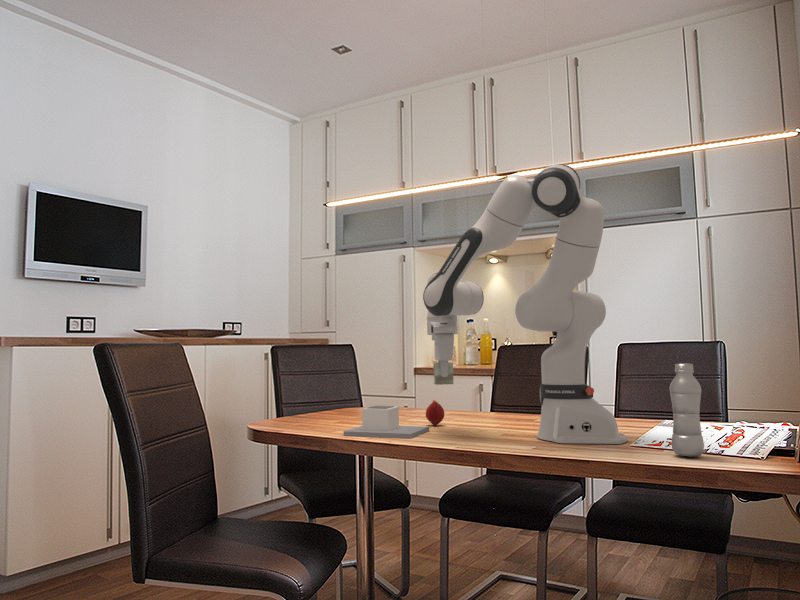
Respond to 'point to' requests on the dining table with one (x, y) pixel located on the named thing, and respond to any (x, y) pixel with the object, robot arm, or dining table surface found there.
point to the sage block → (438, 378)
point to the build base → (389, 434)
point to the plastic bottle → (686, 412)
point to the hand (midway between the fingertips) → (443, 376)
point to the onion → (435, 413)
